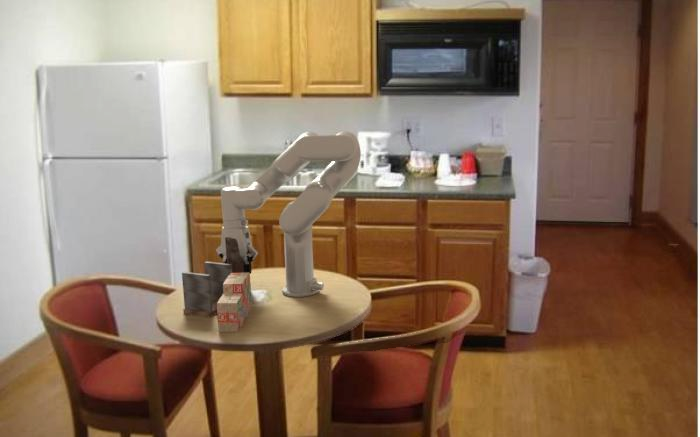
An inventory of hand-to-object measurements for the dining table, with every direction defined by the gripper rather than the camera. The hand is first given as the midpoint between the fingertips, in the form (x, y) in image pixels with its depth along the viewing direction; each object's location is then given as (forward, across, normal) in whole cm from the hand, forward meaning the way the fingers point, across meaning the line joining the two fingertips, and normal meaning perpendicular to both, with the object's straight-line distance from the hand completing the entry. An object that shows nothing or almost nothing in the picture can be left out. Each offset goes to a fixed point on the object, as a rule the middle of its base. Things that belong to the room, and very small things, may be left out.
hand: (238, 272), depth 264 cm
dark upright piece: (+7, 0, 0) cm, 7 cm away
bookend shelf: (+7, 0, +17) cm, 19 cm away
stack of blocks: (+7, -13, +23) cm, 28 cm away
